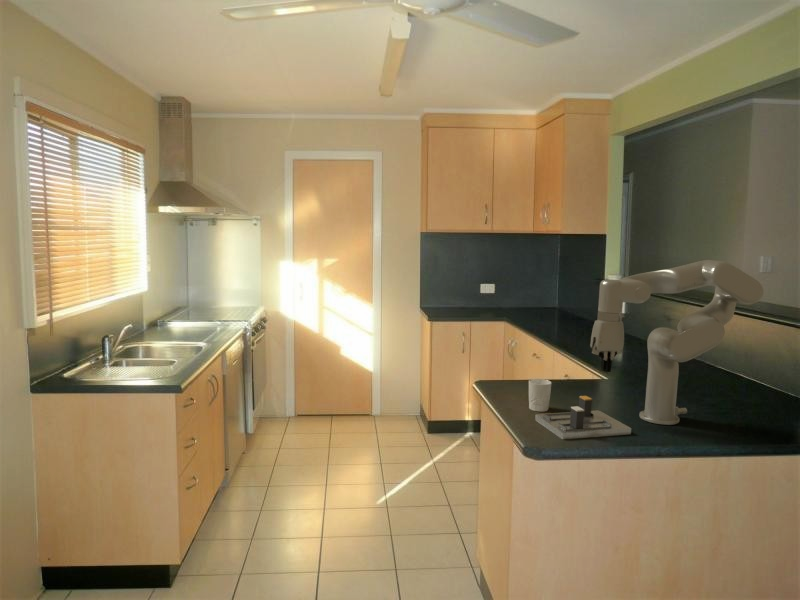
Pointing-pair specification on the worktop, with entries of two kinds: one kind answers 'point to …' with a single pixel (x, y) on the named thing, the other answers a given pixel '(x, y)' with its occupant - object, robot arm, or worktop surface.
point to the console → (592, 425)
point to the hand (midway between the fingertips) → (605, 370)
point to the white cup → (539, 394)
